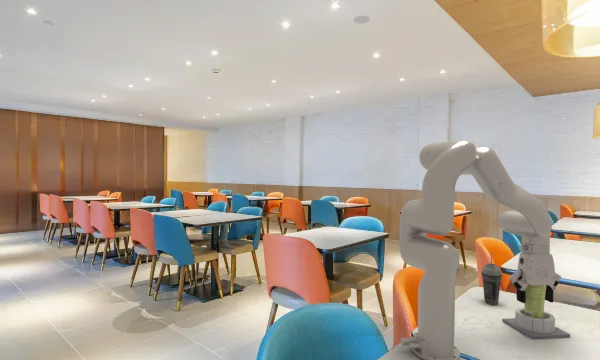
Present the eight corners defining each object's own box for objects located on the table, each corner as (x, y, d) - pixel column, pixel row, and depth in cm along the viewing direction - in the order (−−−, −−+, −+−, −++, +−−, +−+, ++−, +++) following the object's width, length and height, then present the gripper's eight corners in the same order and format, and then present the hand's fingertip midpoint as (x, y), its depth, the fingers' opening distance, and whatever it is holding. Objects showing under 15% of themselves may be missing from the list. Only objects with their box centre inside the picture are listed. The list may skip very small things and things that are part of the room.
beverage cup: (481, 305, 134) (482, 253, 134) (480, 299, 141) (480, 250, 140) (503, 308, 131) (504, 255, 131) (500, 301, 138) (501, 251, 137)
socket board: (531, 339, 106) (531, 322, 106) (502, 321, 119) (502, 306, 119) (570, 337, 107) (570, 321, 107) (537, 320, 120) (537, 305, 120)
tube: (538, 322, 115) (539, 264, 115) (548, 329, 110) (549, 268, 110) (520, 322, 115) (521, 264, 115) (530, 329, 110) (531, 268, 110)
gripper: (519, 251, 108) (518, 306, 108) (570, 251, 110) (569, 304, 110) (502, 246, 115) (502, 298, 116) (550, 246, 117) (549, 296, 117)
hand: (534, 301), depth 113 cm, fingers open, 9 cm apart
